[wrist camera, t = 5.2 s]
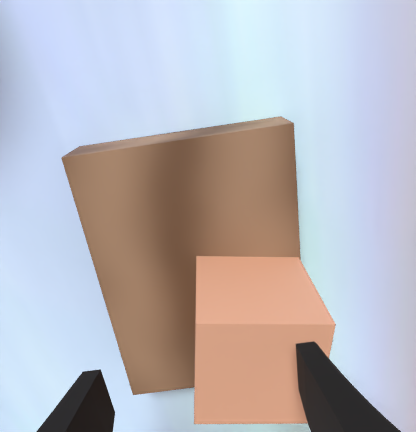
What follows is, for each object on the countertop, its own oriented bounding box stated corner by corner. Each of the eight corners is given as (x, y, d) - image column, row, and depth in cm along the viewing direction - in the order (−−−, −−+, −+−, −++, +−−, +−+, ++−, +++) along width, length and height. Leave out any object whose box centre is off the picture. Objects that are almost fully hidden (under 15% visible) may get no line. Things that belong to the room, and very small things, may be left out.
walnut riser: (280, 116, 17) (293, 123, 15) (294, 341, 22) (306, 372, 20) (79, 146, 17) (61, 157, 15) (139, 362, 23) (133, 395, 20)
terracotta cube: (298, 257, 17) (335, 324, 13) (287, 338, 19) (315, 423, 15) (196, 256, 17) (195, 323, 12) (194, 338, 19) (194, 423, 14)
